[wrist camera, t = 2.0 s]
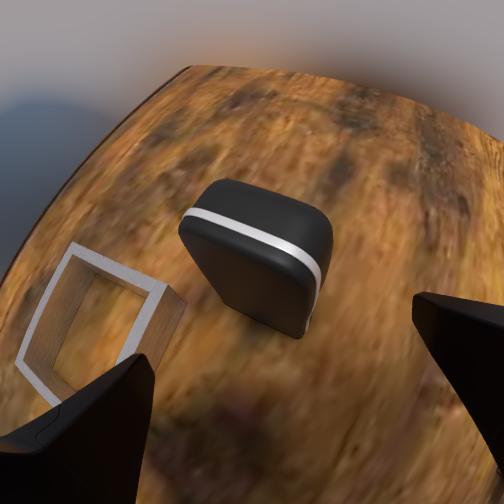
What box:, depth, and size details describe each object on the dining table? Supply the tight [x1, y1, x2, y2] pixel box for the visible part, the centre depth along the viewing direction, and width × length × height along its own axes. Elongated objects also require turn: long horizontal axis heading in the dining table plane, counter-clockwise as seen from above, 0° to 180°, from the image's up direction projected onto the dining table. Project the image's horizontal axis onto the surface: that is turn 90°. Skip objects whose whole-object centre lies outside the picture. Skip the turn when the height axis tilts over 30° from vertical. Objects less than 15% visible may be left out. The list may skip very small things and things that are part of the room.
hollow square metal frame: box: [15, 242, 187, 408], centre depth 19 cm, size 12×13×4 cm
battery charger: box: [178, 179, 333, 339], centre depth 16 cm, size 7×4×11 cm, turn 61°
